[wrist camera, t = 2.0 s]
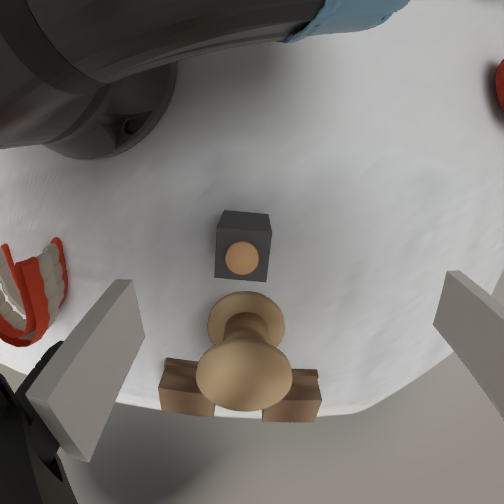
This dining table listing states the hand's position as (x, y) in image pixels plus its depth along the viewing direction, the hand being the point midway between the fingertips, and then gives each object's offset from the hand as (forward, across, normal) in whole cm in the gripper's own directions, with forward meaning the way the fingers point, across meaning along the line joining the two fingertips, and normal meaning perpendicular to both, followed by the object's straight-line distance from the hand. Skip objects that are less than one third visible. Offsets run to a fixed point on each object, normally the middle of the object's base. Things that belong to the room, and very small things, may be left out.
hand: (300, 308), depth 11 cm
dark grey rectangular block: (+17, -3, -2) cm, 18 cm away
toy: (+18, -28, -7) cm, 34 cm away
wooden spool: (+17, -3, -12) cm, 21 cm away
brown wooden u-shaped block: (+17, -4, -20) cm, 27 cm away
